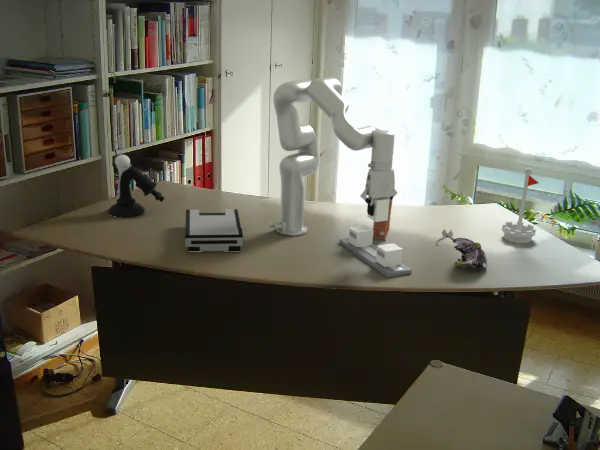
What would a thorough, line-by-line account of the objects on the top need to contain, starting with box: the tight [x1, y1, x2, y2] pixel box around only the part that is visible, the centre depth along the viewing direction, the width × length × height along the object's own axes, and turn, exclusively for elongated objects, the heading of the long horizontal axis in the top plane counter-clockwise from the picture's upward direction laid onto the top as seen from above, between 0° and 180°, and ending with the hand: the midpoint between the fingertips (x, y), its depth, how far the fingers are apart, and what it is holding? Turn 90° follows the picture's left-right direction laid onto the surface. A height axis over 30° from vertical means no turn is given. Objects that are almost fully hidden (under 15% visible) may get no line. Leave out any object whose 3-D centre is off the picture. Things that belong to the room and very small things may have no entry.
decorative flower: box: [452, 237, 488, 272], centre depth 251 cm, size 14×12×15 cm
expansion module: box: [366, 197, 390, 222], centre depth 251 cm, size 5×6×8 cm
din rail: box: [347, 237, 403, 272], centre depth 257 cm, size 4×34×1 cm, turn 26°
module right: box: [376, 243, 404, 267], centre depth 247 cm, size 7×6×6 cm
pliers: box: [435, 228, 460, 247], centre depth 279 cm, size 10×1×20 cm
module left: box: [348, 225, 374, 247], centre depth 264 cm, size 7×6×6 cm
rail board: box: [338, 237, 413, 279], centre depth 257 cm, size 10×35×2 cm, turn 26°
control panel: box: [372, 198, 394, 240], centre depth 278 cm, size 21×7×15 cm
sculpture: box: [107, 154, 165, 218], centre depth 290 cm, size 15×24×25 cm, turn 94°
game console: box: [184, 208, 244, 252], centre depth 267 cm, size 21×32×8 cm, turn 8°
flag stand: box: [501, 167, 539, 244], centre depth 278 cm, size 13×13×30 cm
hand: (377, 213), depth 252 cm, fingers closed on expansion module, 5 cm apart
